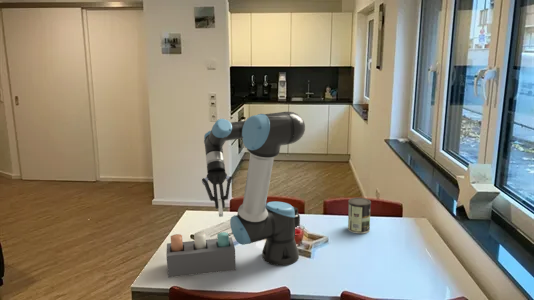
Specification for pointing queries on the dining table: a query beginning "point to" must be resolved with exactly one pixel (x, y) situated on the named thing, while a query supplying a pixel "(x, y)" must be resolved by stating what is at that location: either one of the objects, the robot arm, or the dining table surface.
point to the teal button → (223, 239)
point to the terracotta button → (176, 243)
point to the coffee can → (359, 215)
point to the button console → (200, 259)
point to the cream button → (200, 240)
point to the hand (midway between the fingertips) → (221, 215)
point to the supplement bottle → (296, 217)
